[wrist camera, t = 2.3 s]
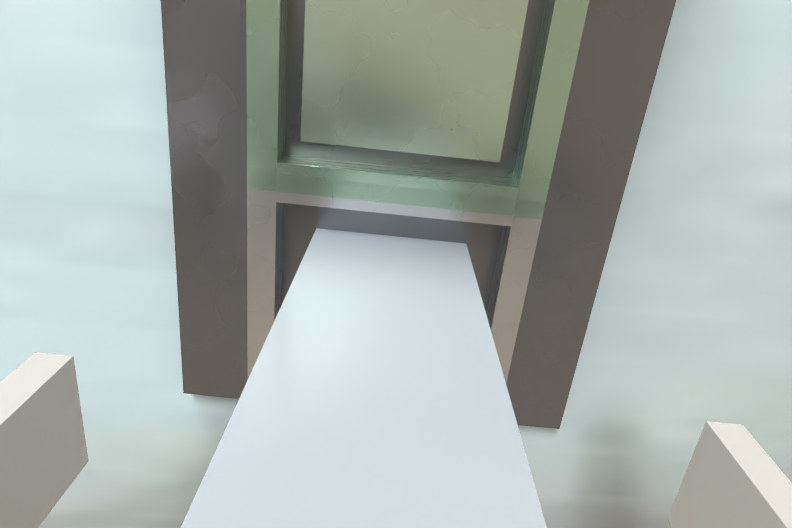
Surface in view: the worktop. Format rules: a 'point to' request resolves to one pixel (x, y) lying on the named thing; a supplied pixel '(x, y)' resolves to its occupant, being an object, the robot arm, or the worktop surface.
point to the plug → (374, 402)
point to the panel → (403, 159)
